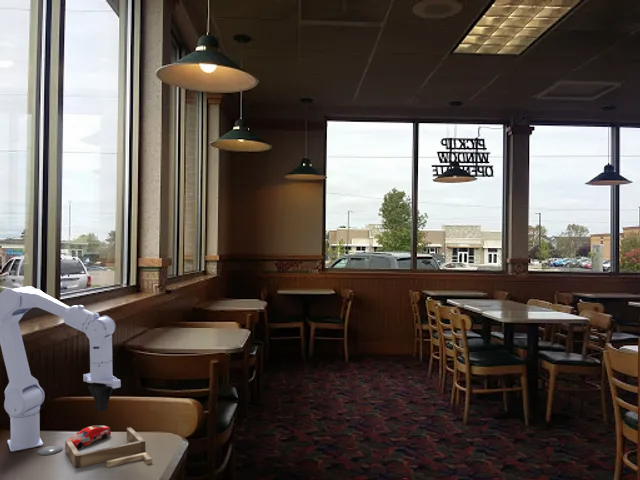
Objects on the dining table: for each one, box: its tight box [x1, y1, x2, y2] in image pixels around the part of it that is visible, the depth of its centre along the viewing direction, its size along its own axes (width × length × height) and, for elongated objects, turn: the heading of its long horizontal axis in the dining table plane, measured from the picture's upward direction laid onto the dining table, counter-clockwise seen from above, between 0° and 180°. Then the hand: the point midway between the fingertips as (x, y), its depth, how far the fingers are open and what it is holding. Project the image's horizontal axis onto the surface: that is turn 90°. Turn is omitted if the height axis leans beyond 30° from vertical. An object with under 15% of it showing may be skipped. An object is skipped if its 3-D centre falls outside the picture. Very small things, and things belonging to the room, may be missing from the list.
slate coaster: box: [37, 445, 64, 456], centre depth 151 cm, size 6×6×1 cm
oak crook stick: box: [105, 451, 153, 468], centre depth 142 cm, size 10×5×1 cm, turn 124°
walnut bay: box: [64, 426, 146, 469], centre depth 150 cm, size 14×17×3 cm
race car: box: [64, 425, 112, 450], centre depth 158 cm, size 13×5×4 cm, turn 147°
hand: (102, 410), depth 154 cm, fingers closed
